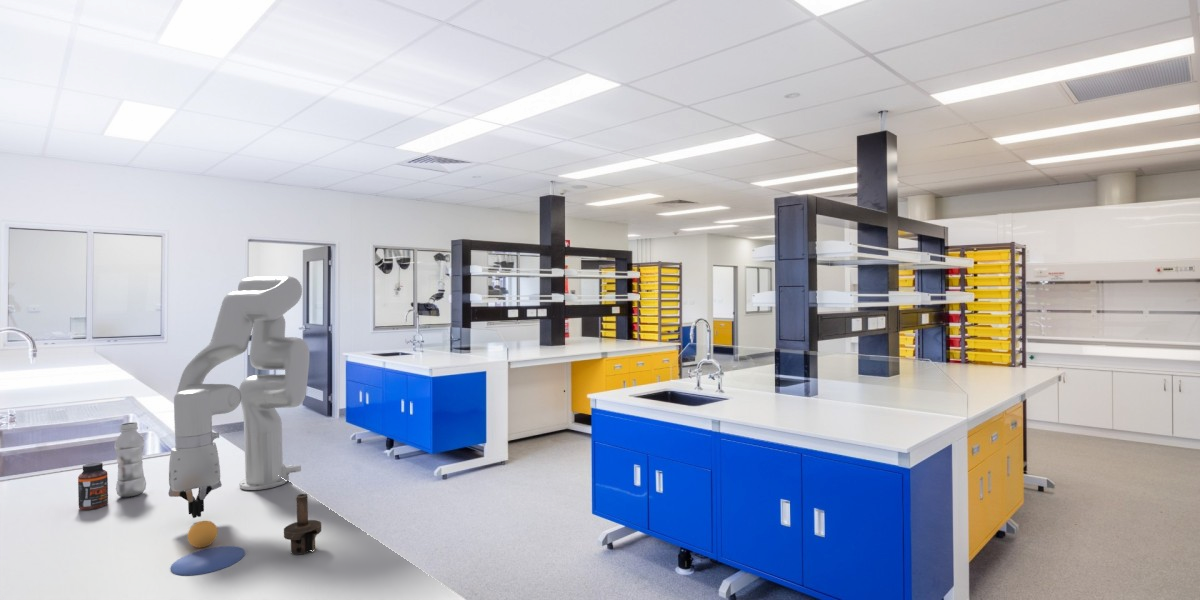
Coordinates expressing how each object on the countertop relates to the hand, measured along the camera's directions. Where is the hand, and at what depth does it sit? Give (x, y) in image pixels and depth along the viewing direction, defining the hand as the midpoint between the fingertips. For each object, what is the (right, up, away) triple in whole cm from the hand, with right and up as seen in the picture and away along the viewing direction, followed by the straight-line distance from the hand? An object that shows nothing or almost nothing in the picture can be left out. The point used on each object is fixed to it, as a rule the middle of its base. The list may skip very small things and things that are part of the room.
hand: (196, 515), depth 147 cm
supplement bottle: (-35, -2, +11) cm, 36 cm away
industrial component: (+34, -2, -16) cm, 38 cm away
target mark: (+17, -2, -21) cm, 27 cm away
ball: (+11, +1, -14) cm, 18 cm away
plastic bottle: (-31, -2, +20) cm, 37 cm away
